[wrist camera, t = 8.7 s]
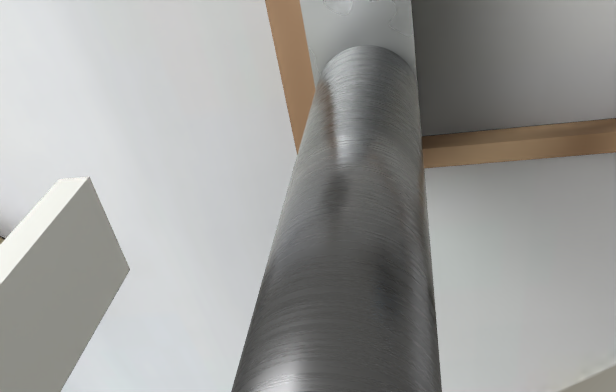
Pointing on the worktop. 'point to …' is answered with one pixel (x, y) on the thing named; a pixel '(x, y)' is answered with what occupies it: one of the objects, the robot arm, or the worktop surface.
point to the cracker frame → (437, 147)
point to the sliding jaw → (351, 222)
